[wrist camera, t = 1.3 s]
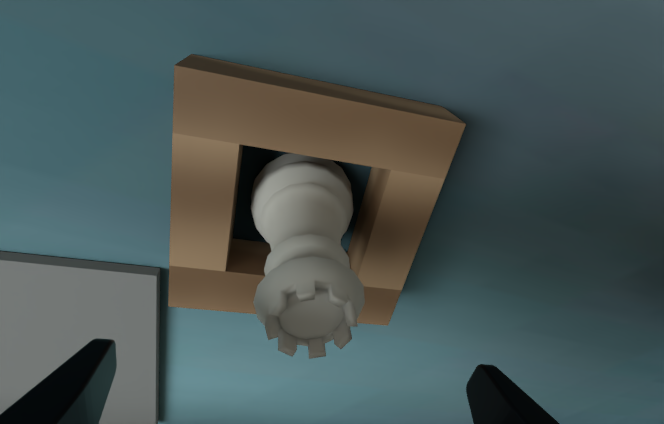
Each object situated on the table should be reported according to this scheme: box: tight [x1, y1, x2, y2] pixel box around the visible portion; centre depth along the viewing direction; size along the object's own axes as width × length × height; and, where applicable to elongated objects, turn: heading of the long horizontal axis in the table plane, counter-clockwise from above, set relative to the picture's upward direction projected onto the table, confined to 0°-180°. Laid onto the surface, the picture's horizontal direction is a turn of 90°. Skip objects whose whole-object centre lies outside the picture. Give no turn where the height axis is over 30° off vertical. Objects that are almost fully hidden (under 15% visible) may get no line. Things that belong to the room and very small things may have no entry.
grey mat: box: [0, 251, 160, 424], centre depth 20 cm, size 12×12×1 cm
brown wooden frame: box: [168, 54, 466, 325], centre depth 16 cm, size 10×10×2 cm
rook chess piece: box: [251, 153, 365, 359], centre depth 14 cm, size 4×4×8 cm
